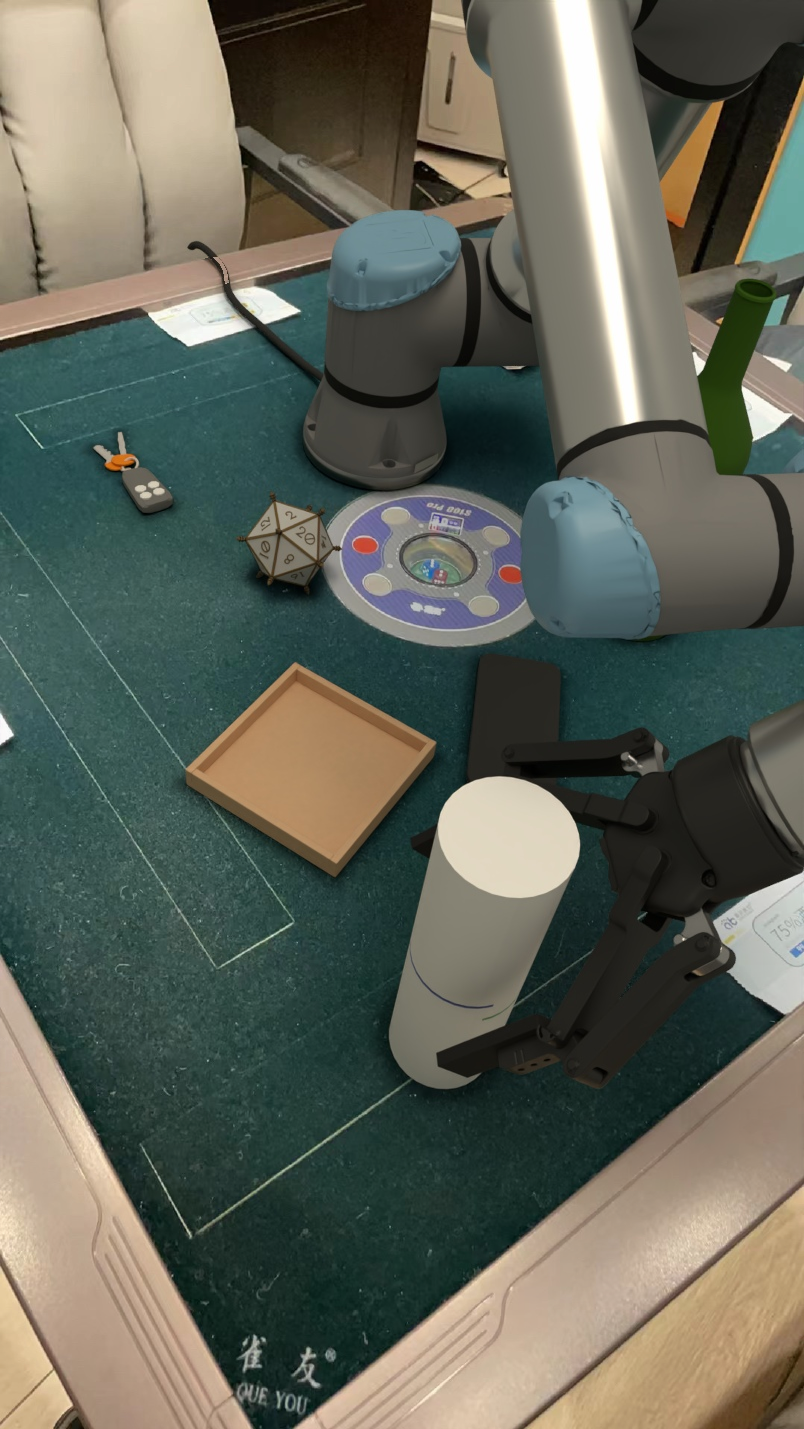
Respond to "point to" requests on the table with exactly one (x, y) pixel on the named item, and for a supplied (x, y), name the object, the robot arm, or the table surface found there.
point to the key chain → (137, 480)
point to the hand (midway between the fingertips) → (436, 951)
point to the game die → (289, 543)
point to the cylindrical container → (479, 918)
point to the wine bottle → (732, 378)
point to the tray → (312, 767)
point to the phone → (511, 711)
